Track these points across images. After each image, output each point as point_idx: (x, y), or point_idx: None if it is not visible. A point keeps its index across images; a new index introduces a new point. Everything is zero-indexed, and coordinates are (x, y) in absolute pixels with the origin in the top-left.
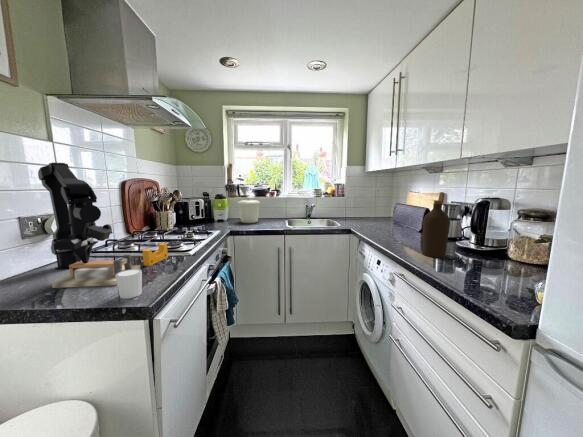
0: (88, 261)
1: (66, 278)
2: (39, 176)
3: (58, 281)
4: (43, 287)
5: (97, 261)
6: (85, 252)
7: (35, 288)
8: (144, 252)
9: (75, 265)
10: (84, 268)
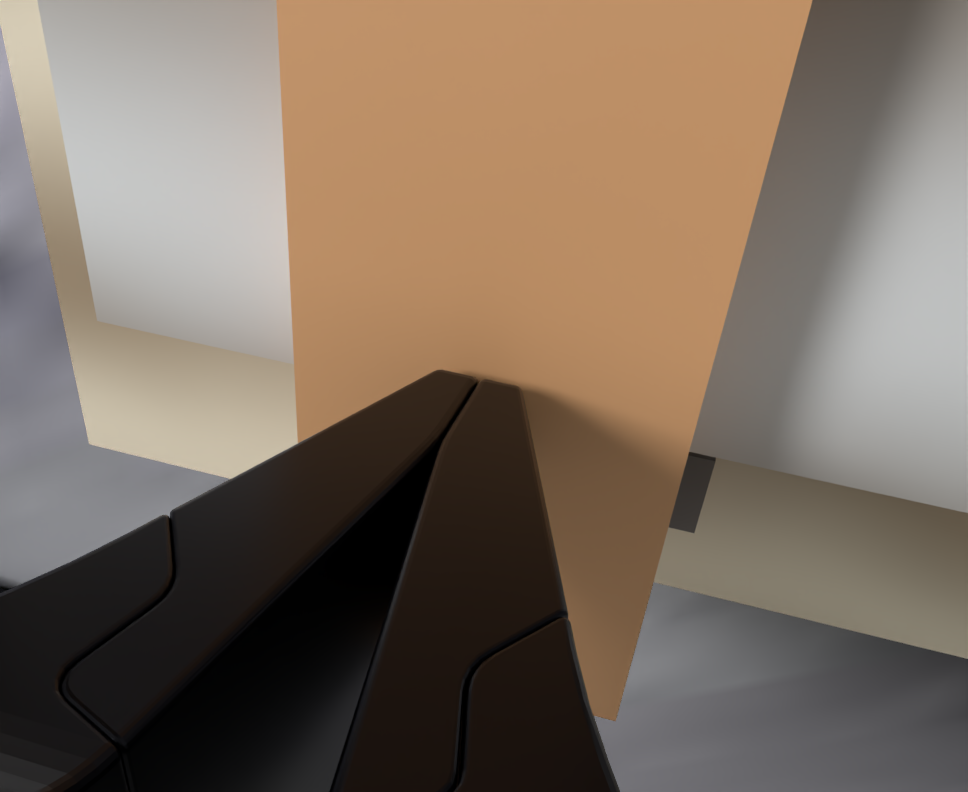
0: (311, 392)
1: (773, 535)
2: None
3: (933, 607)
4: (882, 706)
5: (362, 70)
6: (570, 735)
7: (879, 772)
8: None
9: (644, 596)
10: (830, 304)
